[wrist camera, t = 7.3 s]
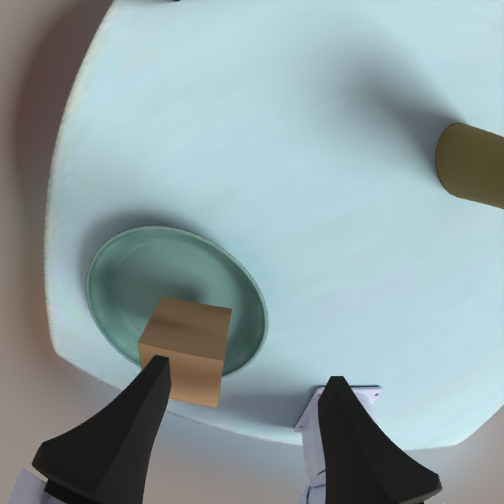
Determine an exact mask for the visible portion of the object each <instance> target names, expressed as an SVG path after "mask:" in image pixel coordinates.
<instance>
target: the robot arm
mask: <svg viewBox="0 0 504 504" xmlns="http://www.w3.org/2000/svg"><path fill="white" fill-rule="evenodd" d="M171 386H172V384H171V374H170V362H169V357H165V356H160V355H154V356H153V358H152V359H151V360H150V361H149V363H148V364H147V365H146V366H145V368H144V369H143V370H142V371H141V372H140V373H139V375H138V376H137V377H136V378H135V379H134V380H133V381H132V382H131V383H130V384H129V385H128V387H127V388H126V389H125V390H124V391H122V392H121V394H119V395H118V396H117V397H116V398H115V399H114V400H113V401H112V402H111V403H110V404H108V405H107V406H106V407H105V408H103V409H102V410H101V411H100V412H98V413H97V414H96V415H94V416H93V417H91V418H90V419H88V420H87V421H85V422H84V423H82V424H81V425H79V426H77V427H75V428H73V429H72V430H70V431H68V432H66V433H64V434H62V435H60V436H57V437H55V438H53V439H50V440H48V441H45V442H43V443H42V444H41V446H40V447H39V449H38V451H37V453H36V455H35V457H34V459H33V462H32V466H33V467H34V468H35V469H36V470H37V471H39V472H40V473H41V474H43V475H44V476H45V477H46V478H48V481H47V483H46V482H44V481H43V480H41V479H40V478H38V477H36V476H35V475H33V474H32V473H30V472H28V471H27V470H26V469H24V468H21V469H20V472H19V474H18V476H17V478H16V481H15V483H14V486H13V488H12V491H11V493H10V496H9V498H8V501H7V504H142V501H143V493H144V486H145V480H146V474H147V469H148V464H149V459H150V455H151V450H152V446H153V443H154V440H155V437H156V434H157V431H158V429H159V426H160V423H161V420H162V418H163V415H164V412H165V409H166V406H167V403H168V399H169V395H170V390H171ZM382 391H383V389H382V387H359V388H351V387H350V386H349V384H348V383H347V381H346V380H345V378H344V377H343V376H331V377H330V379H329V381H328V383H327V385H326V387H320V388H318V389H317V390H316V391H315V393H314V395H313V397H312V399H311V401H310V402H309V404H308V406H307V408H306V409H305V411H304V413H303V415H302V416H301V418H300V420H299V421H298V423H297V425H296V426H295V428H294V431H295V432H302V440H303V450H304V462H305V471H306V473H307V475H308V476H309V478H310V485H308V486H306V487H305V488H304V489H303V491H302V493H301V494H300V496H299V500H298V504H424V502H423V501H425V500H427V499H429V498H430V497H432V496H434V495H436V494H437V493H439V492H440V491H441V490H442V486H441V482H440V479H439V476H438V474H436V473H434V472H432V471H431V470H429V469H427V468H425V467H424V466H422V465H421V464H419V463H418V462H416V461H415V460H413V459H412V458H411V457H409V456H408V455H407V454H406V453H404V452H403V451H402V450H401V449H400V448H399V447H397V446H396V445H395V444H394V443H393V442H392V441H391V440H390V439H389V438H388V437H387V436H386V435H385V434H384V432H383V431H382V430H381V429H380V428H379V427H378V425H377V424H376V421H375V417H374V414H373V411H372V407H371V406H372V404H373V403H374V402H375V401H376V399H377V398H378V397H379V395H380V394H381V393H382ZM442 504H445V503H442Z"/></svg>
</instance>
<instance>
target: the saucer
mask: <svg viewBox="0 0 504 504" xmlns="http://www.w3.org/2000/svg"><path fill="white" fill-rule="evenodd" d="M86 295H87V300H88V305H89V309H90V311H91V314H92V317H93V319H94V321H95V322H96V325H97V327H98V328H99V330H100V331H101V333H102V334H103V335H104V337H105V338H106V340H107V341H108V342H109V343H110V344H111V345H112V346H113V347H114V348H115V349H116V350H117V351H118V352H119V353H120V354H121V355H123V356H124V357H125V358H126V359H128V360H129V361H130V362H132V363H133V364H135V365H137V366H138V367H140V368H141V364H140V358H139V351H138V344H137V342H138V340H139V339H140V337H141V335H142V333H143V331H144V329H145V327H146V325H147V323H148V321H149V319H150V318H151V316H152V314H153V312H154V310H155V308H156V306H157V305H158V303H159V301H160V299H161V297H162V296H165V297H170V298H175V299H180V300H186V301H191V302H196V303H202V304H207V305H213V306H219V307H225V308H231V309H232V313H231V319H230V325H229V332H228V338H227V345H226V351H225V358H224V364H223V371H222V377H221V379H223V378H225V377H228V376H231V375H233V374H235V373H237V372H239V371H241V370H242V369H244V368H245V367H247V366H248V365H249V364H250V363H251V362H252V361H253V360H254V359H255V357H256V356H257V355H258V354H259V352H260V351H261V349H262V347H263V345H264V343H265V340H266V337H267V332H268V323H269V322H268V312H267V307H266V304H265V300H264V298H263V295H262V293H261V291H260V289H259V287H258V285H257V284H256V282H255V280H254V279H253V278H252V276H251V275H250V274H249V272H248V271H247V270H246V269H245V268H244V267H243V265H242V264H241V263H240V262H239V261H238V260H237V259H235V258H234V257H233V256H232V255H231V254H229V253H228V252H227V251H225V250H224V249H223V248H221V247H220V246H218V245H217V244H215V243H213V242H211V241H210V240H207V239H205V238H203V237H201V236H199V235H196V234H194V233H191V232H188V231H185V230H181V229H177V228H172V227H165V226H142V227H137V228H132V229H129V230H126V231H123V232H121V233H119V234H117V235H115V236H114V237H112V238H110V239H109V240H108V241H107V242H105V243H104V244H103V245H102V246H101V247H100V248H99V250H98V251H97V252H96V254H95V255H94V257H93V259H92V261H91V263H90V266H89V269H88V274H87V278H86Z"/></svg>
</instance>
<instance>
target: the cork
mask: <svg viewBox="0 0 504 504" xmlns="http://www.w3.org/2000/svg"><path fill="white" fill-rule="evenodd" d="M436 168H437V173H438V177H439V179H440V181H441V183H442V185H443V187H444V188H445V189H446V190H447V191H448V192H449V193H450V194H452V195H454V196H456V197H458V198H463V199H467V200H471V201H475V202H479V203H483V204H487V205H491V206H494V207H498V208H501V209H504V137H502V136H499V135H496V134H494V133H491V132H488V131H485V130H482V129H479V128H475V127H472V126H469V125H465V124H460V123H457V124H453V125H450V126H449V127H448V128H447V129H446V130H444V131H443V133H442V135H441V137H440V139H439V141H438V145H437V149H436Z"/></svg>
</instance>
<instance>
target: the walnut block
mask: <svg viewBox="0 0 504 504" xmlns="http://www.w3.org/2000/svg"><path fill="white" fill-rule="evenodd" d="M231 313H232V309H231V308H225V307H219V306H213V305H207V304H202V303H196V302H191V301H186V300H180V299H175V298H170V297H165V296H162V297H161V299H160V301H159V303H158V305H157V306H156V308H155V310H154V312H153V314H152V316H151V318H150V319H149V321H148V323H147V325H146V327H145V329H144V331H143V333H142V335H141V337H140V339H139V340H138V342H137V344H138V351H139V358H140V364H141V370H143V369H144V368H145V366H146V365H147V364H148V363H149V361H150V360H151V359H152V358H153V356H154V355H160V356H165V357H169V362H170V374H171V384H172V386H171V390H170V395H169V399H174V400H178V401H183V402H188V403H192V404H198V405H203V406H209V407H215V408H217V403H218V397H219V390H220V384H221V377H222V371H223V364H224V358H225V351H226V345H227V338H228V332H229V325H230V319H231Z"/></svg>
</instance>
